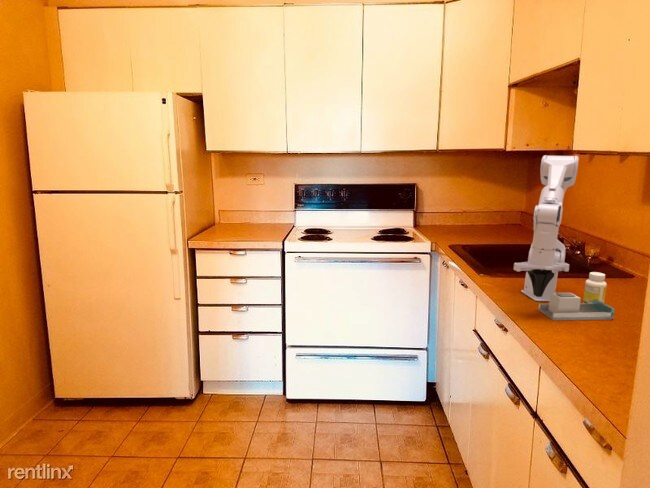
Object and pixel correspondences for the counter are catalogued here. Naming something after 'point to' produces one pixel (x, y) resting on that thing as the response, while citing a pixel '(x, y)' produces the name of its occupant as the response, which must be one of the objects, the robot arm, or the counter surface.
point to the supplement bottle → (595, 288)
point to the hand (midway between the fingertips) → (537, 295)
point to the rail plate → (582, 312)
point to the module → (564, 302)
